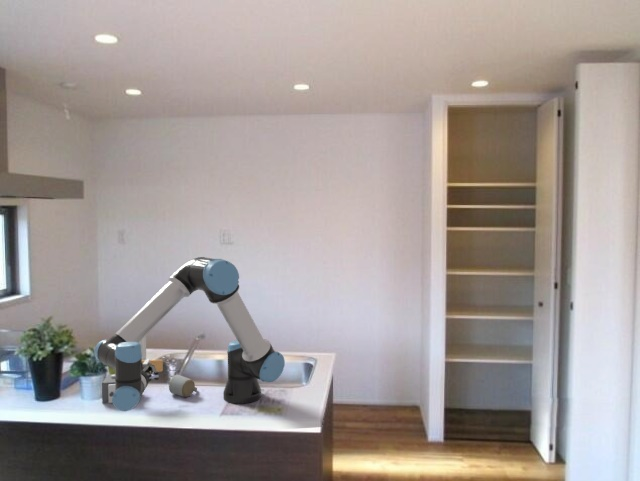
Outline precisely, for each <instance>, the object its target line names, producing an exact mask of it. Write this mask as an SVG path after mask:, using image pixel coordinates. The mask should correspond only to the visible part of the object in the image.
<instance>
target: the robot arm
mask: <svg viewBox="0 0 640 481" xmlns="http://www.w3.org/2000/svg"><path fill="white" fill-rule="evenodd" d="M239 280H240V273H239V271H238V269H237V267H236V266H235V265H234V264H233V263H232V262H231V261H228V260H226V259H222V258H211V257H204V256H198V257H195V258H192V259H191V260H189V261H187V262H185V263H184V264H182V265H181V267H179V268H178V269H177V270H175V272H173V273H172V274H171V275H170V276H169V277H168V282H167V283H166V284H165V285H164V286H163V287H162V288H161V289H160V290H159V291H158V292H157V293H156V294H154V296H152V298H151V299H149V301H147V302H146V303H145V305H143V306H142V308H140V309H139V310H138V311H137V312H136V313H135V314H134V315H133V316H131V317H130V319H129V320H128V321H126V323H125V324H124V325H123V326H121V328H119V329H118V330H117V331H116V332H115V333H114V334H113V335H112V336H111V337H110V338H109V339H108V338H107V339H102V340H101V341H99V342H97V344H96V345H95V347H94V350H93V354H94V358H95V359H96V360H97V361H99V363H100V364H102V365H105V366H107V367H108V366H109V367H111V368H112V369H114V370H115V392H114V394H113V398H112V402H113V403H112V405H113V406H114V408H115V409H116V410H118V411H120V412H128V411H131V410H133V409H134V408H136V407H137V405H138V404H139V403H140V400H141V398H142V396H143V394H144V392H145V390H146V388H147V386H148V385H149V382H151V381H152V380H156V381H157V380H159V379H160V378H159V374H160V372H158V371H156V368H155V365H151V363H150V360H151V359H150V358H146V360H145V361H144V363H143V364H142V353H141V345H140V344H139V343H138V342H139V341H140V340H141V339H142V338H143V337H144V336H145V335H146V336H147V335H148V334H149V333H150V331H152V329H154V328H155V327H156V326H157V325H158V323H160V321H161V320H163V319H164V317H165V316H167V314H169V313H170V312H171V311H172V310H173V308H175V307H176V305H178V304H179V302H181V301H182V300H183V299H184V298H188V297H190V296H191V295H192V294H193V293H194V292H196V291H198V290H199V291H203V292H204V293H205V295H206V297H207V299H208V301H209V303H210V304H214V305H216V306H217V307H218V309H219V311H220V313H221V315H222V316H223V319H224V320H225V322H226V323H227V325H228V326H229V328H230V331H231V332H232V334H233V335H234V337H235V338H236V340H232V341H230V342H229V344H228V345H227V351H226V353H227V381H226V384H225V387H224V389H223V400H224V401H226V402H228V403H231V404H238V405H239V404H248V403H253V402H257V401H258V400H260V399H261V398H262V389H261V385H260V383H259V382H260V381H261V382H265V383H273V382H275V381H276V380H278V379H279V378H280V377H281V376H282V374H283V371H284V368H285V362H286V361H285V357H284V355H283V354H282V353H280V352H279V351H276V350H275V349H274V347H273V346H272V344H271V342H270V340H268V339H264V338H263V335H262V334H261V331H260V330H259V328H258V326H257V325H256V323H255V321H254V319H253V317H252V315H251V314H250V312H249V310H248V308H247V306H246V304H245V303H244V301H243V299H242V297H241V295H240V293H239V290H240V284H239V283H240V281H239ZM150 371H151V372H150ZM259 380H260V381H259Z"/></svg>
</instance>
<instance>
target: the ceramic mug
mask: <svg viewBox="0 0 640 481" xmlns="http://www.w3.org/2000/svg"><path fill="white" fill-rule="evenodd" d="M195 384H196V383H195V382H194V380H193V379H191V378H189V377H186V376H184V375H180V374H175V375H174V376H173V377H172V378H171V379H170V380H169V384H168V390H169V392H170V393H171V394H173V395H176V396H179V397H183V398H188V397H190V396H191V395H193V393H194V392H197V390H198V387H196V385H195Z"/></svg>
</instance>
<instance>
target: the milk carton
mask: <svg viewBox="0 0 640 481" xmlns="http://www.w3.org/2000/svg"><path fill="white" fill-rule="evenodd" d="M138 343H139V344H140V345H141V353H142V360H146V359H147V334H146V335H145V336H144V337H143V338H142V339H141V340H140V341H139V342H138Z"/></svg>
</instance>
